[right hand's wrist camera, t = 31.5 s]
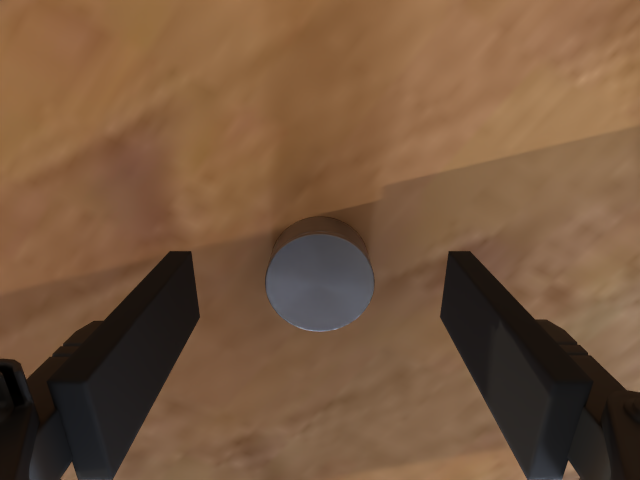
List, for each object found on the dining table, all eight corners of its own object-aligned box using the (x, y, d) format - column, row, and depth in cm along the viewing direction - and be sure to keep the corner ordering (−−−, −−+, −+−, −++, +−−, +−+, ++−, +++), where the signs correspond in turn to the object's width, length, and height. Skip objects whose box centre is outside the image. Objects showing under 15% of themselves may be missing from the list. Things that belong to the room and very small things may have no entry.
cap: (381, 231, 15) (390, 251, 13) (350, 313, 17) (354, 342, 15) (285, 204, 15) (280, 220, 13) (261, 290, 16) (254, 316, 14)
